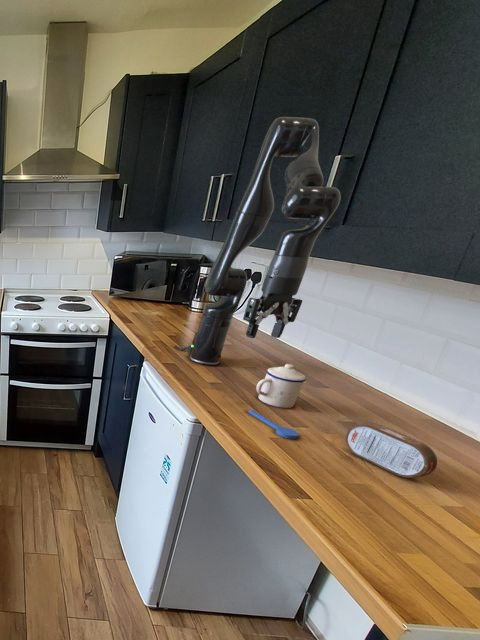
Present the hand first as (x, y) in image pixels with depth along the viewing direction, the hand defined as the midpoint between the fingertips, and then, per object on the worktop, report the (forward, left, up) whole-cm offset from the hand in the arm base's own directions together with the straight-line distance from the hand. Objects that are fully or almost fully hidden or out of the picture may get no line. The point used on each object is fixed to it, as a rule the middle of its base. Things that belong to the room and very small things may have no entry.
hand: (262, 337), depth 107 cm
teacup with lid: (0, +11, -20) cm, 23 cm away
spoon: (+13, -1, -20) cm, 24 cm away
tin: (+31, +9, -20) cm, 38 cm away
